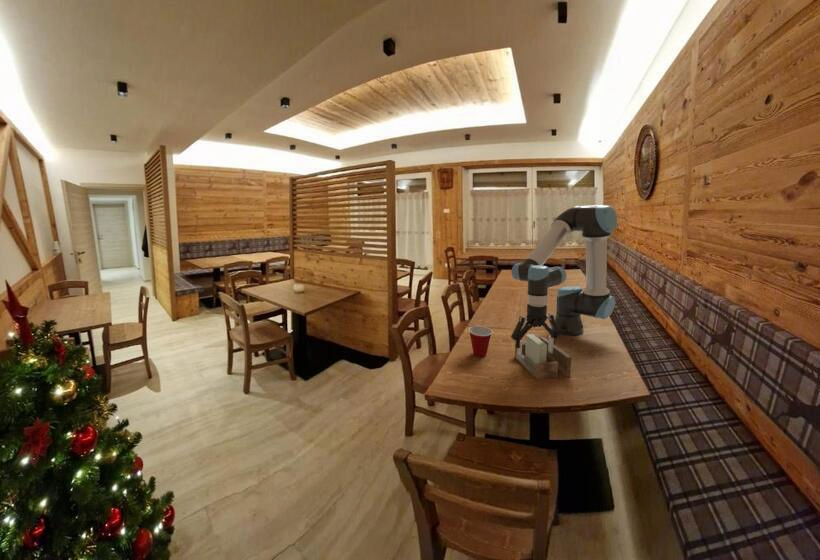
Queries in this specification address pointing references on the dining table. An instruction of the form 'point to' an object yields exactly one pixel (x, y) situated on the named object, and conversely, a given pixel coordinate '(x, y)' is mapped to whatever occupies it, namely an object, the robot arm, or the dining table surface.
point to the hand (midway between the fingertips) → (535, 353)
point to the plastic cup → (480, 339)
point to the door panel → (535, 349)
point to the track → (550, 368)
